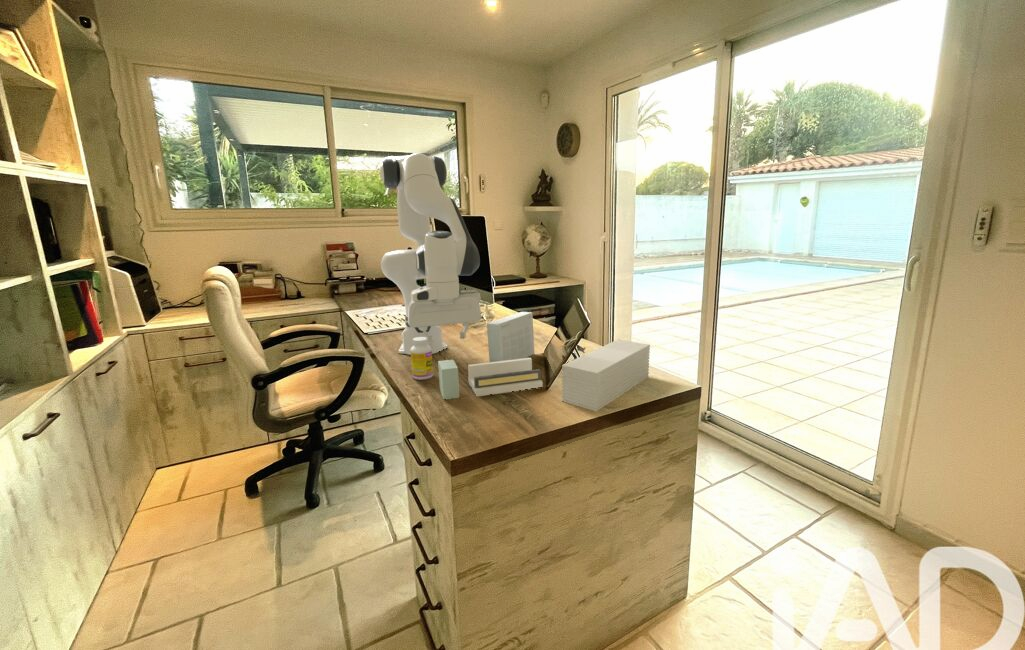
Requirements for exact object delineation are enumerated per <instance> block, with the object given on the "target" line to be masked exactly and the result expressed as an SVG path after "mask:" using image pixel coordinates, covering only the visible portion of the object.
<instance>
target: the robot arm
mask: <svg viewBox="0 0 1025 650" xmlns="http://www.w3.org/2000/svg"><path fill="white" fill-rule="evenodd" d="M379 176H380V179H381V182H382V184H383V185H384V186H385V188H388V189H391V190H395V191H396V190H397V195H396V197H397V198H396V201H397V202H396V209H397V219H398V220H397V221H398V231H399V233H400V234H401V236H403V237H404V238H406V239H407V240H410V241H412V242H414V243H416V245H417V248H415V249H413V248H412V249H397V250H393V251H389V252H385V253H384V255H383V256H382V258H381V259H380V260H381V261H380V269H381V272H382V273H383V276H385V277H386V278H387V279H388V280H390V281H392V282H393V283H394V284H395V285H396V286H397V287H398V290H400V292H401V294H402V296H403V297H402V298H403V302H404V308H405V309H404V310H405V316H404V322H405V328H404V329H403V331H402V333H400V334H401V335H400V336H401V339H402V341H401V343H402V344H401V345H400V347H399V349H398V354H403V355H404V354H405V355H408V356H409V355H410V356H411V351H410V350H411V348H412V347H413V346H414V344H413V339H414V338H416V337H426V340H427V342H428V343H427V344H428V345H429V346H430V347H431V349H432V355H433V354H436V353H437V354H438V353H439V351H440V352H441V351H443V349H444V350H446V348H447V349H448V348H449V347H448V344H446V343H444V341H443V331H442V328H441V326H448V325H457V324H458V325H459V324H462V326H463V328H462V331H459V339H463V340H464V339H467V334H466V333H467V331H468V330H469V328H470V323H479V322H480V320H482V311H481V306H480V304H481V301H482V299H481V293H480V292H479V291H478V290H477V289H474V288H473V289H460V282H459V281H460V280H459V279H460V278H459V276H466V277H467V276H472V275H473V274H474V273H476V272H477V270H478V269H479V267H480V266H481V265H480V264H481V258H480V253H479V250H478V247H477V245H476V243H475V242H474V240H473V239H472V237H471V234H470V233H469V230H468V228H467V226H466V223H465V220H464V218H463V216H462V214H461V212H460V209H459V207H458V205H457V203H456V201H455V200H454V199H453V198H451V197H450V196H448V194H446V193H445V191H444V190H443V189H442V188H443V186H445V184H446V182H447V179H448V170H447V166H446V163H445V161H444V160H443V158H441V157H439V156H435V155H432V156H428V155H426V154H425V153H420V152H415V153H411V154H410V155H397V156H394V155H389V156H385V157H383V159H382V160H381V162H380V166H379ZM430 218H433V219H436V220H438V221H441V222H443V223H445V224H446V225H447V226H448V227H449V230H450V231H446V230H445V231H444V230H432V228H431V223H430V222H431V221H430V220H431V219H430ZM421 279H426V281H425V283H426V285H424V286H420V285H418V283H417V280H421Z"/></svg>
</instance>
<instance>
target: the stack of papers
mask: <svg viewBox="0 0 1025 650" xmlns="http://www.w3.org/2000/svg"><path fill="white" fill-rule="evenodd" d="M650 347H651V344H649V343H648V344H647V343H641V342H638V341H630V340H624V339H617V340H614V341H612V342H609V343H607V344H605V345H603V346H601V347H599V348H596V349H595V350H594V349H593V350H592V351H590V352H588V353H586V354H585V353H584V354H583V355H581V356H579V357H577V359H574V358H573V359H574V360H573V359H571V360H570V361H568V363H566V362H565V363H566V364H565V363H564V364H562V365H561V375H562V376H561V382H562V383H561V385H562V386H561V398H562V399H561V401H564V402H563V403H566V402H567V403H566V404H569V403H570V404H571V405H573V406H576V407H579V406H580V408H584V409H586V410H590V411H594V412H598V411H599V410H601V409H602V408H604V407H605V406H607V405H608V404H610V403H612V402H613V401H615V400H616V399H617V398H619V397H620V396H622V395H624V394H625V393H626V392H628V391H629V390H631V389H632V388H634V387H635V386H637V385H639V384H640V383H641V382H643V381H644V380H645V379H647V378H649V373H650V372H649V371H650V370H649V368H650V353H651V352H650V349H651V348H650ZM636 384H637V385H636ZM633 386H634V387H633ZM630 388H631V389H630ZM615 398H616V399H615Z"/></svg>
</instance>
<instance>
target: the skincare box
mask: <svg viewBox="0 0 1025 650" xmlns="http://www.w3.org/2000/svg"><path fill="white" fill-rule="evenodd" d="M533 314H534V313H533V312H531V311H529V312H528V311H520V312H517V313H513V314H511V315H508V316H504V317H501V318H498V319H495V320H493V321H489V322H486V330H487V331H486V333H487V343H488V360H489V361H488V362H497V361H505V360H514V359H523V358H530V357H531V356H533V355H535V342H534V341H535V339H534V337H535V336H534V335H535V334H534V319H533V318H534V317H533Z"/></svg>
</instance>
